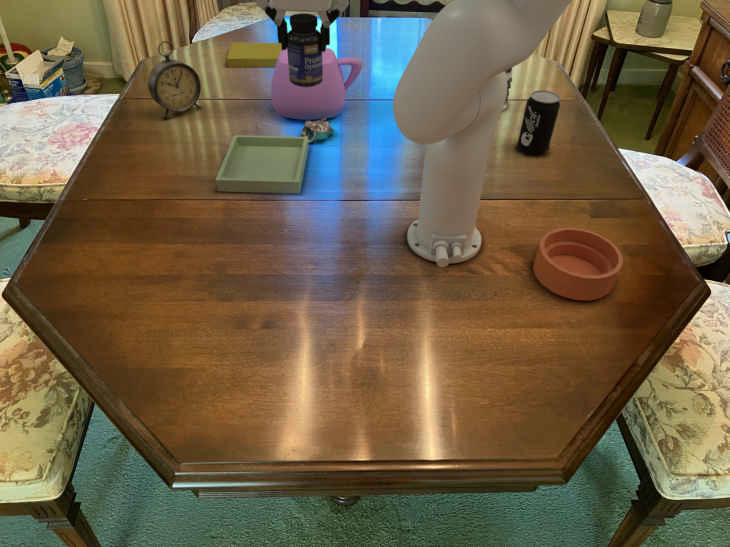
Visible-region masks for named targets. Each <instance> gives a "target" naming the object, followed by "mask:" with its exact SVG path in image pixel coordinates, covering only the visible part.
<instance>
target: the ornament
mask: <svg viewBox="0 0 730 547" xmlns="http://www.w3.org/2000/svg"><path fill="white" fill-rule="evenodd" d="M311 134H313V135H312V137H311ZM333 134H335V130H334V128H333V127H332V126H330V121H327V118H323V119H317V120H314V121H312V119H307V120H306V121H305V122H304V126H303V127H302V130H301V132H300V137H308V144H311V143H316V141H317V140H324V139H328V138H329V137H330V135H333Z"/></svg>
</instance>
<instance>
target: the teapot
mask: <svg viewBox="0 0 730 547" xmlns="http://www.w3.org/2000/svg"><path fill="white" fill-rule="evenodd" d="M322 66H323V78H322V82H321V83H320V84H318V85H316V86H312V87H300V86H297V85H294V84H292V83H291V82H290V79H289V67H288V52H287V49H285V50H282V51H281V52H280V54H279V57H278V60H277V63H276V66H275V67H274V69H273V74H272V77H271V86H270V87H271V88H270V100H271V105H272V108H273V109H274V110H275V112H276V113H277V114H278V115H279V116H280V117H282V118H287V119H293V120H321V119H323V118H326V119H331V118H334V117H337V116H339V114H340V113H341V111H342V110H343V108H344V106H345V102H346V98H347V90H348V89H349V88H350V87H351V86H352V84H353V83H354V82H355V81H356V80H357V78H358V76H359V75H360V73H361V71H362V68H363V63H362V60H361V59H359V58H357V57H343V58H338V57H337V55H336V53H335V51H334V50H333V49H332V48H329V47H326V50H325V52H322ZM341 66H350V67H351V70H350V73H349V75H348V77H347V79H346V81H345V79H344V78H345V77H344V74H343V71H342V68H341Z"/></svg>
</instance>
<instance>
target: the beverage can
mask: <svg viewBox="0 0 730 547" xmlns="http://www.w3.org/2000/svg"><path fill="white" fill-rule="evenodd" d="M560 99H561V97H560V95H558V93H556V92H554V91H551V90H545V89H544V90H543V89H539V90H534V91H532V92H531V93H530V96H529V97H528V99H527V100H526V104H525V108H524V113H523V118H522V122H521V126H520V130H519V135H518V139H517V147H518V149H519V150H520V152H522V153H524V154H526V155H530V156H541V155H543V154H545V153H546V152H548V151H549V148H550V144H551V142H552V137H553V134H554V130H555V127H556V123H557V119H558V115H559V111H560V109H561V108H560V107H561V102H560Z"/></svg>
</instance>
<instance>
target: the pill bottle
mask: <svg viewBox="0 0 730 547" xmlns="http://www.w3.org/2000/svg"><path fill="white" fill-rule="evenodd" d="M289 25H290V28H291V29H290V30H289V31H288V34H287V52H288V67H289V79H290V82H291V83H292V84H294V85H297V86H300V87H312V86H316V85H318V84H320V83H321V82H322V78H323V66H322V51H321V39H320V30H318V29H317V27H318V16H317V15H315V14H312V13H307V12H300V13H299V12H298V13H293V14H291V15H290V16H289Z"/></svg>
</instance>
